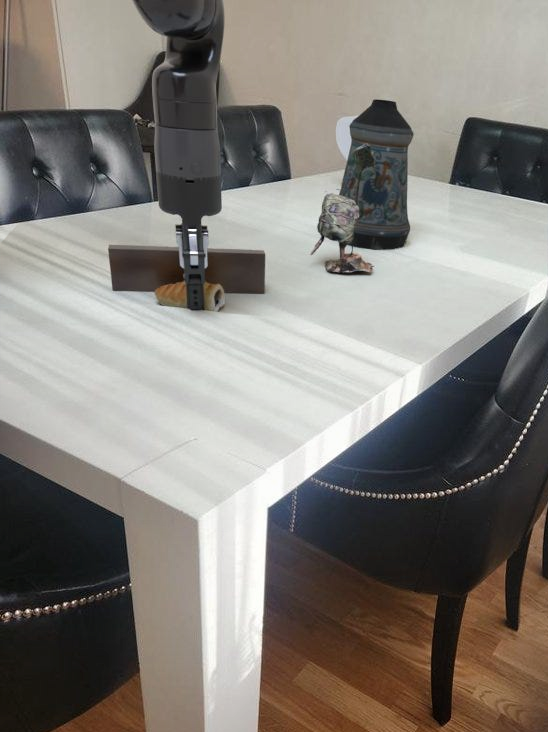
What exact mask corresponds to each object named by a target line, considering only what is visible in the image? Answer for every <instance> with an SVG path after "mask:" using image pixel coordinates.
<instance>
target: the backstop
mask: <svg viewBox="0 0 548 732" xmlns="http://www.w3.org/2000/svg"><path fill="white" fill-rule="evenodd" d="M107 251H108V253H107V254H108V260H109V261H108V263H109V269H110V280H111V287H112V291H113V292H114V291H115V292H116V291H118V292H119V291H120V292H121V291H122V292H155V290H156V289H158V288H160V287H161V286H164V285H169V284H176V283H178V282H184V277H183V274H184V269H183V268H182V267H181V266H180V258H179V246H160V245H159V246H158V245H136V244H135V245H134V244H133V245H132V244H130V245H129V244H108V246H107ZM207 261H208V266H207V268H205V277H206V281H205V282H207V283H209V284H220V285H221V286H222V288H223V290H224V294H265V293H266V292H265V291H266V289H265V288H266V287H265V286H266V253H265V250H264V249H240V248H239V249H237V248H216V247H215V248H212V247H211V248H210V247H207Z"/></svg>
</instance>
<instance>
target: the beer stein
mask: <svg viewBox="0 0 548 732" xmlns="http://www.w3.org/2000/svg"><path fill="white" fill-rule="evenodd" d="M357 116H358V117H357V118H355V119H354V120H353V121H352V123H351V124H350V126H349V128H350V135H351V147H350V151H349V155H348V160H346V164H345V169H344V173H343V176H342V181H341V186H340V188H341V189H340V190H339V194H338V195H341V196H344V197H346V198H350V199H351V200H354V201H355V203H356V189H357V185H358V183H357V182H358V173H359V168H357V166H356V162H355V158H354V150H355V149H357V148H358V147H360V146H363V145H365V144H366V143H367V144H369V145H370V147H371V149H372V152H373V154H374V158H375V162H374V165H375V168H376V171H374V170H373V168H372V167H366V168H365V169H362V174H361V179H360V183H359V192H358V207H359V218H358V220H357V223H356V226H355V231H354V240H353V247H355V248H361V249H366V250H367V249H368V250H374V251H376V250H377V251H378V250H379V251H380V250H381V249H383V250H396V249H400V248H403V246H404V247H405V245H406V243H407V239H408V237H409V235H410V232H411V225H410V221H409V215H408V177H409V176H408V174H409V173H408V169H409V167H408V166H409V164H408V163H409V162H408V160H409V158H408V157H409V155H408V151H409V146H410V144H412V141H413V138H414V136H415V135H414V134H415V133H414V131H413V129H412V127H411V125H409V123H408V121H407V120H406V119H405V118H404V116H403V114H401V113H400V111H399V110H398V106H397V101H394V100H387V99H372V102H371V104H370V105H369V106H368V107H367V108H366V109H365V110H364V111H362V112H361V113H360V114H359V115H357ZM347 246H351V247H352V242H351V243H349V244H348V245H347ZM399 247H400V248H399ZM395 248H396V249H395Z"/></svg>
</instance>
